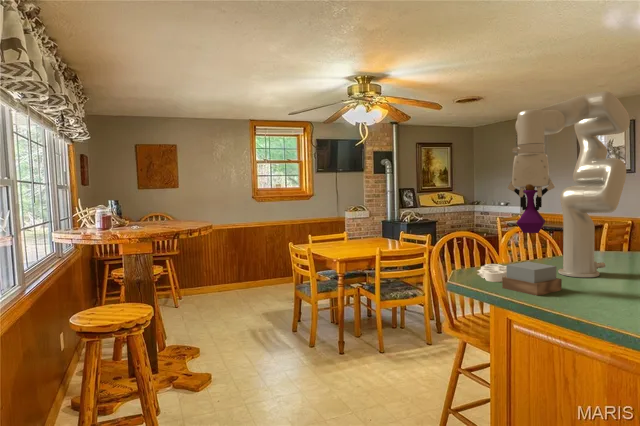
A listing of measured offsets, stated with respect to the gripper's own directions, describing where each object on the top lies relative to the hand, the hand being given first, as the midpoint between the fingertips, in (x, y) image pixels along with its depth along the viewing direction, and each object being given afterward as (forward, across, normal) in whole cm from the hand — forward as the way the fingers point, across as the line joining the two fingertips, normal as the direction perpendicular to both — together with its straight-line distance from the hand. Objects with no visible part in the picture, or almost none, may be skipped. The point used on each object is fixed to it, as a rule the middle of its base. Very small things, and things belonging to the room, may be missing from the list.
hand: (530, 209), depth 136 cm
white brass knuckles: (+26, -12, +14) cm, 32 cm away
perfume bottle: (+7, 0, 0) cm, 7 cm away
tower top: (+22, 0, -1) cm, 22 cm away
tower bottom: (+26, 0, -1) cm, 26 cm away
